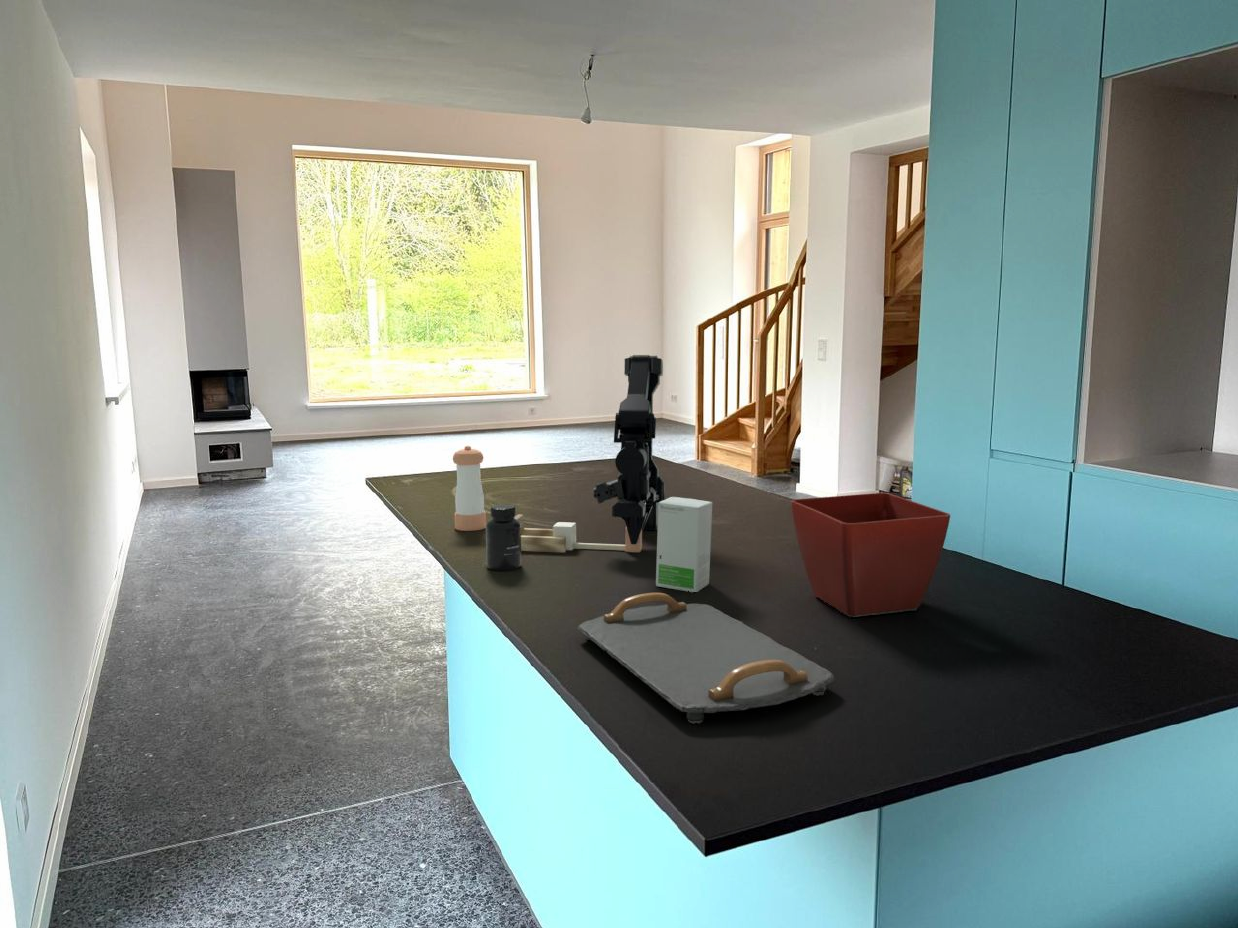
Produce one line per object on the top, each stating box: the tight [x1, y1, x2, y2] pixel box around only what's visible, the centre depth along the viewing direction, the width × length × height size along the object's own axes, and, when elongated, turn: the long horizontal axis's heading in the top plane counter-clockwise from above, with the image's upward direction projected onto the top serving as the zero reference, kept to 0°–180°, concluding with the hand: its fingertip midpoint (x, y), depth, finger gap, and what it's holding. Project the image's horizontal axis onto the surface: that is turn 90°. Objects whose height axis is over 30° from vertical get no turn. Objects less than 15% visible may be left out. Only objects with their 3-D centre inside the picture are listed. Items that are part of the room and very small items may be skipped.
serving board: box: [577, 592, 835, 721], centre depth 123 cm, size 39×23×6 cm, turn 25°
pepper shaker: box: [452, 445, 487, 532], centre depth 205 cm, size 7×7×19 cm
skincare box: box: [655, 496, 713, 593], centre depth 158 cm, size 8×7×16 cm
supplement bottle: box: [485, 504, 522, 572], centre depth 172 cm, size 7×7×12 cm
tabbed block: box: [552, 521, 643, 553], centre depth 185 cm, size 18×4×5 cm, turn 79°
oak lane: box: [515, 513, 567, 553], centre depth 187 cm, size 12×8×6 cm, turn 80°
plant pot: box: [790, 492, 951, 616], centre depth 147 cm, size 19×19×17 cm
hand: (635, 542), depth 184 cm, fingers closed on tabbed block, 3 cm apart
